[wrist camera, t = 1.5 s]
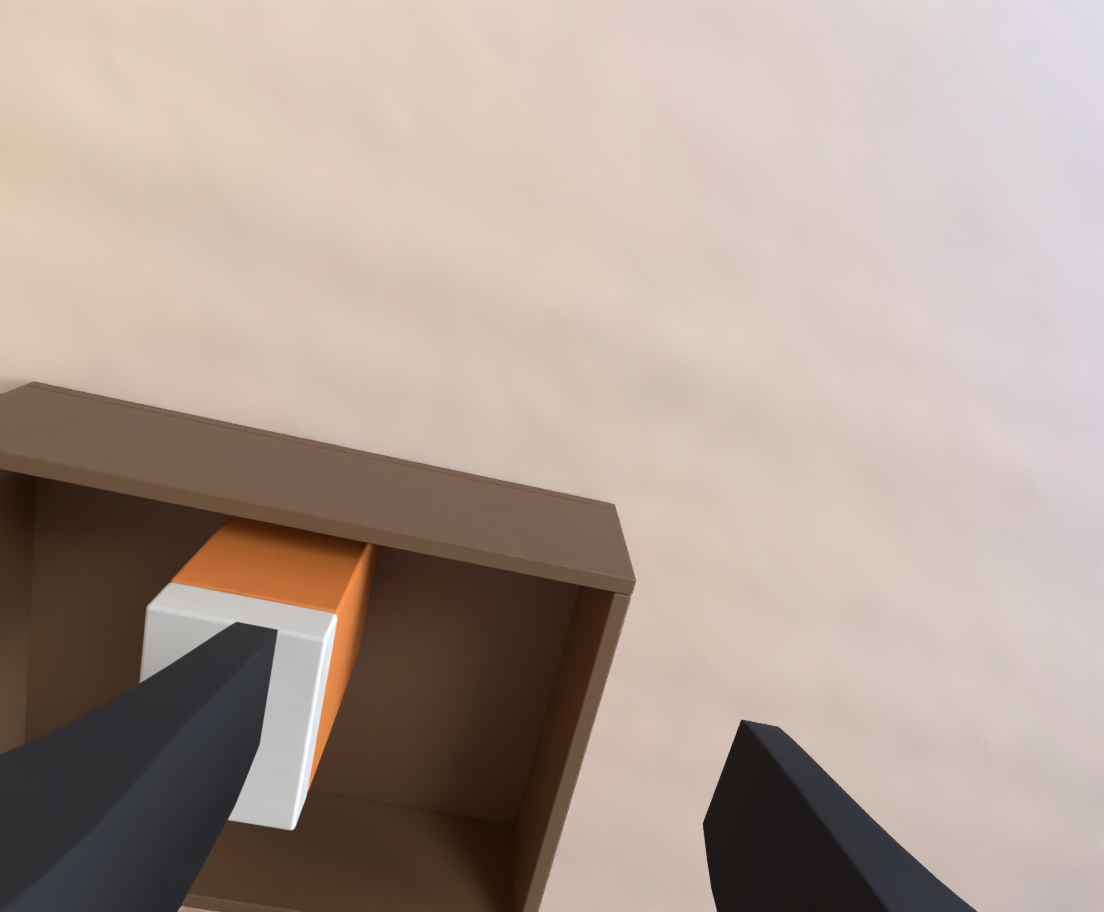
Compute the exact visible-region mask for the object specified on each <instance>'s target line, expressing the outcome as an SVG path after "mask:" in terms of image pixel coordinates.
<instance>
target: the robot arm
mask: <svg viewBox="0 0 1104 912" xmlns="http://www.w3.org/2000/svg"><path fill="white" fill-rule="evenodd" d="M277 633H278V630H277V629H272V628H267V627H262V626H257V625H251V624H246V623H241V622H235V623H233V624H232V625H230V626H228V627H227V628H225V629H224V630H222V631H220V632H219V633H217V634H216V635H214V636H213V637H211V638H210V639H208V640H207V641H205V642H204V643H202V644H201V645H199V646H198V647H196V648H195V649H193V650H192V651H190V652H188V653H187V654H185V655H184V656H182V657H181V658H179V659H178V660H176V661H175V662H173V663H172V664H170V665H168V666H167V667H165V668H164V669H162V670H160V671H159V672H157V673H155V674H154V675H152V676H151V677H149V678H147V679H146V680H144V681H142V682H141V683H139V684H138V685H136V686H134V687H133V688H131V689H129V690H128V691H126V692H124V693H123V694H121V695H119V696H117V697H116V698H114V699H112V700H110V701H108V702H107V703H105V704H103V705H101V706H99V707H97V708H96V709H94V710H92V711H90V712H88V713H87V714H85V715H83V716H81V717H79V718H78V719H76V720H74V721H72V722H70V723H68V724H66V725H64V726H62V727H60V728H58V729H55V730H53V731H51V732H49V733H47V734H45V735H43V736H41V737H39V738H36V739H34V740H32V741H30V742H27V743H25V744H23V745H21V746H18V747H16V748H14V749H12V750H9V751H7V752H5V753H3V754H0V912H178V910H179V908H180V906H181V905H182V903H183V901H184V899H185V897H186V895H187V894H188V892H189V890H190V888H191V886H192V885H193V883H194V881H195V879H196V877H197V875H198V874H199V872H200V870H201V868H202V866H203V864H204V863H205V861H206V859H207V857H208V855H209V854H210V852H211V850H212V848H213V846H214V844H215V842H216V841H217V839H218V837H219V835H220V833H221V831H222V830H223V828H224V826H225V824H226V822H227V820H228V818H229V817H230V815H231V813H232V811H233V809H234V807H235V805H236V802H237V800H238V797H239V795H240V793H241V790H242V788H243V785H244V783H245V780H246V778H247V775H248V773H249V770H250V768H251V765H252V763H253V760H254V758H255V755H256V753H257V750H258V748H259V745H260V740H261V734H262V727H263V721H264V715H265V709H266V702H267V696H268V690H269V683H270V677H271V671H272V665H273V658H274V652H275V646H276V640H277ZM703 830H704V838H705V846H706V855H707V862H708V869H709V875H710V882H711V889H712V893H713V897H714V901H715V905H716V908H717V912H977V911H976V910H975V909H973V908H972V907H971V906H970V905H968V904H967V903H966V902H965V901H963V900H962V899H961V898H960V897H958V896H957V895H956V894H955V893H954V892H953V891H951V890H950V889H949V888H948V887H947V886H945V885H944V884H943V883H942V882H941V881H940V880H938V879H937V878H936V877H935V876H934V875H933V874H932V873H931V872H929V871H928V870H927V869H926V868H925V867H924V866H923V865H922V864H921V863H919V862H918V861H917V860H916V859H915V858H914V857H913V856H912V855H911V854H910V853H908V852H907V851H906V850H905V849H904V848H903V847H902V846H901V845H900V844H899V843H898V842H896V841H895V840H894V839H893V838H892V837H891V836H890V835H889V834H888V833H887V832H886V831H885V830H884V829H883V828H882V827H881V826H880V825H879V824H878V823H877V822H876V821H874V820H873V819H872V818H871V817H870V816H869V815H868V814H867V813H866V812H865V811H864V810H863V809H862V808H861V807H860V806H859V805H858V804H857V803H856V802H855V801H854V800H853V799H852V798H851V797H850V796H849V795H848V794H847V793H846V792H845V791H844V790H843V789H842V788H841V787H840V786H839V785H838V784H837V783H836V782H835V781H834V780H833V779H832V778H831V777H830V776H829V775H828V774H827V773H826V772H825V771H824V770H823V769H822V768H821V767H820V766H819V765H818V764H817V763H816V762H815V761H814V760H813V759H812V758H811V757H810V756H809V755H808V754H807V753H806V752H805V751H804V750H803V749H802V748H801V747H800V746H799V745H798V744H797V743H796V742H795V741H794V740H793V739H792V738H791V737H790V736H788V735H787V734H786V733H785V732H784V731H783V730H781V729H780V728H779V727H777V726H771V725H766V724H761V723H756V722H751V721H746V720H741V722H740V725H739V727H738V730H737V733H736V736H735V738H734V741H733V744H732V746H731V749H730V752H729V754H728V757H727V760H726V762H725V765H724V768H723V771H722V773H721V776H720V779H719V781H718V784H717V787H716V789H715V792H714V795H713V798H712V800H711V803H710V806H709V808H708V811H707V814H706V816H705V819H704V822H703Z"/></svg>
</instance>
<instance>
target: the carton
mask: <svg viewBox="0 0 1104 912" xmlns="http://www.w3.org/2000/svg"><path fill="white" fill-rule="evenodd" d="M231 515H232V516H237V517H242V518H247V519H252V520H257V521H262V522H267V523H272V524H277V525H282V526H287V527H292V528H297V529H302V530H307V531H312V532H317V533H322V534H327V535H332V536H337V537H342V538H347V539H352V540H357V541H362V542H367V543H372V544H377V545H379V549H378V555H377V560H376V565H375V571H374V576H373V581H372V587H371V592H370V598H369V603H368V608H367V614H366V619H365V624H364V630H363V635H362V641H361V646H360V651H359V654H358V657H357V660H356V662H355V665H354V668H353V671H352V673H351V676H350V679H349V682H348V684H347V687H346V690H345V693H344V695H343V698H342V701H341V703H340V706H339V709H338V712H337V714H336V717H335V720H334V723H333V725H332V728H331V731H330V734H329V736H328V739H327V742H326V744H325V747H324V750H323V753H322V755H321V758H320V761H319V764H318V766H317V769H316V772H315V775H314V777H313V780H312V783H311V785H310V788H309V790H308V792H307V796H306V799H305V802H304V805H303V807H302V810H301V813H300V816H299V818H298V821H297V824H296V826H295V828H294V829H293V830H285V829H278V828H272V827H266V826H260V825H254V824H248V823H242V822H235V821H229V820H227V822H226V824H225V826H224V828H223V830H222V831H221V833H220V835H219V837H218V839H217V841H216V842H215V844H214V846H213V848H212V850H211V852H210V854H209V855H208V857H207V859H206V861H205V863H204V864H203V866H202V868H201V870H200V872H199V874H198V875H197V877H196V879H195V881H194V883H193V885H192V886H191V888H190V890H189V892H188V894H187V895H186V897H185V899H184V901H183V903H182V905H181V906H187V907H193V908H200V909H206V910H213V911H220V912H538V911H539V907H540V904H541V901H542V897H543V894H544V891H545V887H546V884H547V880H548V877H549V874H550V870H551V867H552V864H553V860H554V857H555V853H556V850H557V847H558V843H559V840H560V837H561V833H562V830H563V826H564V823H565V820H566V816H567V813H568V809H569V806H570V803H571V799H572V796H573V793H574V789H575V786H576V782H577V779H578V776H579V772H580V769H581V766H582V762H583V759H584V755H585V752H586V749H587V745H588V742H589V739H590V735H591V732H592V728H593V725H594V722H595V718H596V715H597V711H598V708H599V705H600V701H601V698H602V695H603V691H604V688H605V684H606V681H607V678H608V674H609V671H610V668H611V664H612V661H613V657H614V654H615V651H616V647H617V644H618V641H619V637H620V634H621V630H622V627H623V624H624V620H625V617H626V614H627V610H628V607H629V603H630V600H631V595H632V593H633V590H634V586H635V583H636V578H635V574H634V571H633V567H632V564H631V560H630V557H629V553H628V550H627V546H626V543H625V539H624V536H623V532H622V528H621V525H620V521H619V518H618V514H617V511H616V507H615V505H614V504H611V503H606V502H601V501H597V500H592V499H587V498H582V497H578V496H573V495H568V494H563V493H559V492H554V491H549V490H544V489H540V488H535V487H530V486H525V485H521V484H516V483H511V482H507V481H502V480H497V479H492V478H488V477H483V476H478V475H473V474H469V473H464V472H459V471H454V470H450V469H445V468H440V467H435V466H431V465H426V464H421V463H417V462H412V461H407V460H402V459H398V458H393V457H388V456H383V455H379V454H374V453H369V452H364V451H360V450H355V449H350V448H346V447H341V446H336V445H331V444H327V443H322V442H317V441H312V440H308V439H303V438H298V437H293V436H289V435H284V434H279V433H274V432H270V431H265V430H260V429H256V428H251V427H246V426H241V425H237V424H232V423H227V422H222V421H218V420H213V419H208V418H203V417H199V416H194V415H189V414H185V413H180V412H175V411H170V410H166V409H161V408H156V407H151V406H147V405H142V404H137V403H132V402H128V401H123V400H118V399H113V398H109V397H104V396H99V395H95V394H90V393H85V392H80V391H76V390H71V389H66V388H61V387H57V386H52V385H47V384H42V383H38V382H32V383H29V384H27V385H25V386H22V387H19V388H16V389H14V390H11V391H8V392H6V393H3V394H1V395H0V754H3V753H5V752H7V751H9V750H12V749H14V748H16V747H18V746H21V745H23V744H25V743H27V742H30V741H32V740H34V739H36V738H39V737H41V736H43V735H45V734H47V733H49V732H51V731H53V730H55V729H58V728H60V727H62V726H64V725H66V724H68V723H70V722H72V721H74V720H76V719H78V718H79V717H81V716H83V715H85V714H87V713H88V712H90V711H92V710H94V709H96V708H97V707H99V706H101V705H103V704H105V703H107V702H108V701H110V700H112V699H114V698H116V697H117V696H119V695H121V694H123V693H124V692H126V691H128V690H129V689H131V688H133V687H134V686H136V685H138V684H139V682H140V671H141V660H142V649H143V639H144V628H145V617H146V607H147V606H148V604H149V603H150V602H151V601H152V600H153V599H154V598H155V597H156V596H157V595H158V594H159V593H160V591H161V590H162V589H163V588H164V587H165V586H166V585H167V584H168V583H170V581H171V580H172V579H173V577H174V576H175V575H176V574H177V573H178V572H179V571H180V570H181V569H182V568H183V567H184V565H185V564H186V563H187V562H188V561H189V560H190V559H191V558H192V557H193V556H194V555H195V554H196V552H197V551H198V550H199V549H200V548H201V547H202V546H203V545H204V544H205V543H206V542H207V541H208V539H209V538H210V537H211V536H212V535H213V534H214V533H215V532H216V531H217V530H218V529H219V528H220V526H221V525H222V524H223V523H224V522H225V521H226V520H227V519H228V518H229V517H230V516H231Z"/></svg>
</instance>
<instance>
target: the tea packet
mask: <svg viewBox="0 0 1104 912" xmlns="http://www.w3.org/2000/svg"><path fill="white" fill-rule="evenodd" d="M378 549H379V545H377V544H372V543H367V542H362V541H357V540H352V539H347V538H342V537H337V536H332V535H327V534H322V533H317V532H312V531H307V530H302V529H297V528H292V527H287V526H282V525H277V524H272V523H267V522H262V521H257V520H252V519H247V518H242V517H237V516H232V515H231V516H230V517H229V518H228V519H227V520H226V521H225V522H224V523H223V524H222V525H221V526H220V528H219V529H218V530H217V531H216V532H215V533H214V534H213V535H212V536H211V537H210V538H209V539H208V541H207V542H206V543H205V544H204V545H203V546H202V547H201V548H200V549H199V550H198V551H197V552H196V554H195V555H194V556H193V557H192V558H191V559H190V560H189V561H188V562H187V563H186V564H185V565H184V567H183V568H182V569H181V570H180V571H179V572H178V573H177V574H176V575H175V576H174V577H173V579H172V580H171V581H170V583H168V584H167V585H166V586H165V587H164V588H163V589H162V590H161V591H160V593H159V594H158V595H157V596H156V597H155V598H154V599H153V600H152V601H151V602H150V603H149V604H148V606H147V607H146V617H145V628H144V639H143V649H142V660H141V671H140V682H139V683H141V682H142V681H144V680H146V679H147V678H149V677H151V676H152V675H154V674H155V673H157V672H159V671H160V670H162V669H164V668H165V667H167V666H168V665H170V664H172V663H173V662H175V661H176V660H178V659H179V658H181V657H182V656H184V655H185V654H187V653H188V652H190V651H192V650H193V649H195V648H196V647H198V646H199V645H201V644H202V643H204V642H205V641H207V640H208V639H210V638H211V637H213V636H214V635H216V634H217V633H219V632H220V631H222V630H224V629H225V628H227V627H228V626H230V625H232V624H233V623H235V622H241V623H246V624H251V625H257V626H262V627H267V628H272V629H277V630H278V633H277V640H276V646H275V652H274V658H273V665H272V671H271V677H270V683H269V690H268V696H267V702H266V709H265V715H264V721H263V727H262V734H261V740H260V745H259V748H258V750H257V753H256V755H255V758H254V760H253V763H252V765H251V768H250V770H249V773H248V775H247V778H246V780H245V783H244V785H243V788H242V790H241V793H240V795H239V797H238V800H237V802H236V805H235V807H234V809H233V811H232V813H231V815H230V817H229V818H228V820H229V821H235V822H242V823H248V824H254V825H260V826H266V827H272V828H278V829H285V830H293V829H294V828H295V826H296V824H297V821H298V818H299V816H300V813H301V810H302V807H303V805H304V802H305V799H306V796H307V792H308V790H309V788H310V785H311V783H312V780H313V777H314V775H315V772H316V769H317V766H318V764H319V761H320V758H321V755H322V753H323V750H324V747H325V744H326V742H327V739H328V736H329V734H330V731H331V728H332V725H333V723H334V720H335V717H336V714H337V712H338V709H339V706H340V703H341V701H342V698H343V695H344V693H345V690H346V687H347V684H348V682H349V679H350V676H351V673H352V671H353V668H354V665H355V662H356V660H357V657H358V654H359V651H360V646H361V641H362V635H363V630H364V624H365V619H366V614H367V608H368V603H369V598H370V592H371V587H372V581H373V576H374V571H375V565H376V560H377V555H378Z"/></svg>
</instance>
